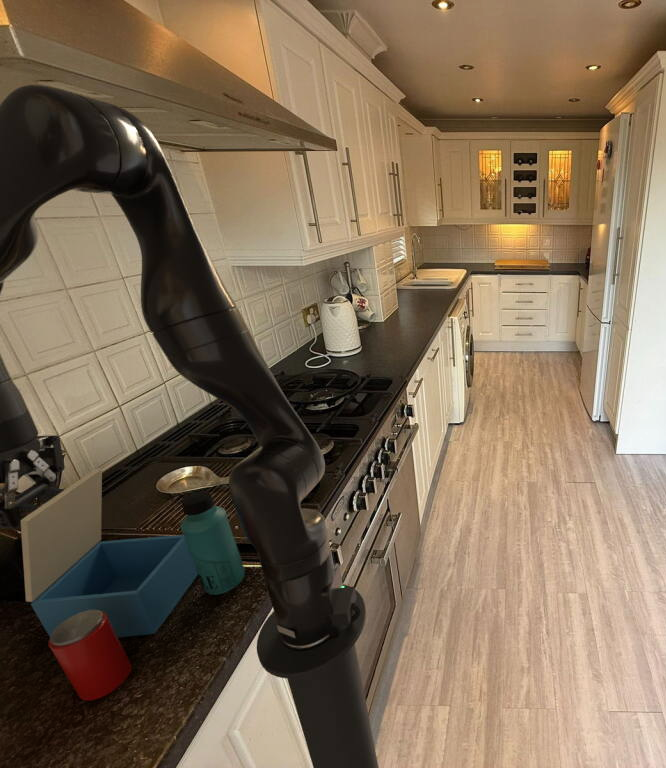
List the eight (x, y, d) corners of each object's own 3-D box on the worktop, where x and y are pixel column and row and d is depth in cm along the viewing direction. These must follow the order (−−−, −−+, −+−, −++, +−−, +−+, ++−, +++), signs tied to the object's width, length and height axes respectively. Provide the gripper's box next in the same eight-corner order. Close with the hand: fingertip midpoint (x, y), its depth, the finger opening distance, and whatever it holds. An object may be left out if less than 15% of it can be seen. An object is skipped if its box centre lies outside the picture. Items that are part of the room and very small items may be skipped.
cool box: (201, 570, 77) (188, 534, 74) (155, 633, 65) (137, 593, 62) (116, 578, 76) (99, 541, 72) (53, 644, 64) (30, 604, 60)
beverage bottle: (254, 570, 77) (227, 482, 70) (238, 600, 71) (207, 507, 64) (216, 575, 76) (185, 486, 69) (197, 605, 70) (161, 511, 63)
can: (141, 658, 62) (115, 605, 58) (112, 697, 57) (82, 642, 53) (99, 663, 61) (71, 609, 57) (67, 703, 56) (33, 648, 52)
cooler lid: (102, 468, 68) (57, 461, 66) (27, 521, 56) (-29, 513, 54) (101, 539, 72) (60, 534, 71) (32, 602, 60) (-20, 596, 59)
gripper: (-41, 439, 50) (17, 547, 56) (62, 393, 63) (100, 485, 69) (-114, 441, 49) (-47, 551, 55) (6, 394, 62) (49, 487, 68)
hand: (34, 514), depth 62 cm, fingers closed on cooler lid, 5 cm apart
